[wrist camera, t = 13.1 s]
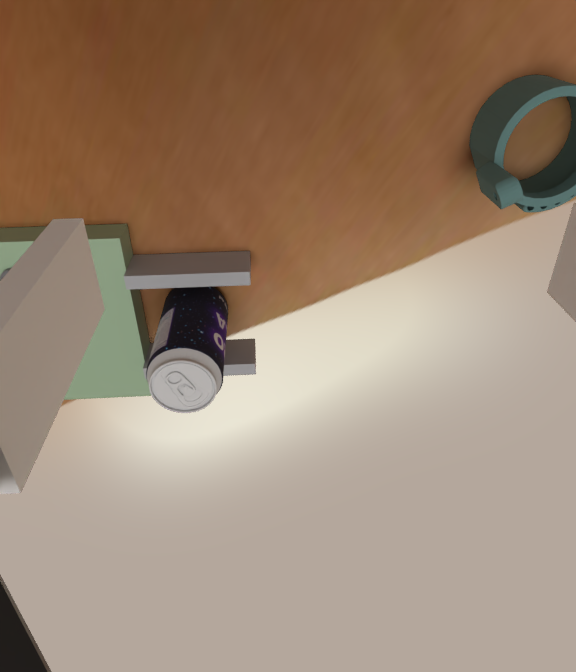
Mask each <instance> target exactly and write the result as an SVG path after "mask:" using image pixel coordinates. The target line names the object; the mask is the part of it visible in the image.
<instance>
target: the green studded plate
mask: <svg viewBox="0 0 576 672" xmlns="http://www.w3.org/2000/svg"><path fill="white" fill-rule="evenodd" d="M46 227H47V226H43V227H12V228H0V281H1V280H2V279H3V277H4V276H5V275H6V274H7V273H8V272H9V270H10V269H11V268H12V267H13V266H14V265H15V263H16V262H17V261H18V260H19V259H20V258H21V256H22V255H23V254H24V253H25V252H26V250H27V249H28V248H29V247H30V246H31V245H32V243H33V242H34V241H35V240H36V239H37V238H38V236H39V235H40V234H41V233H42V232H43V231H44V229H45V228H46ZM85 229H86V233H87V237H88V241H89V245H90V249H91V254H92V258H93V262H94V266H95V270H96V274H97V279H98V283H99V287H100V291H101V295H102V299H103V304H104V308H105V310H104V312H103V314H102V316H101V319H100V321H99V323H98V325H97V327H96V330H95V332H94V334H93V336H92V338H91V340H90V343H89V345H88V347H87V349H86V351H85V354H84V356H83V358H82V360H81V362H80V365H79V367H78V369H77V371H76V373H75V376H74V378H73V380H72V382H71V384H70V387H69V389H68V391H67V393H66V395H65V397H64V400H66V399H87V398H110V397H132V396H152V395H151V393H150V390H149V384H148V382H147V378H146V370H147V366H148V362H149V358H150V355H151V351H152V348H153V344H154V343H150V340H149V335H148V330H147V324H146V319H145V314H144V309H143V304H142V298H141V293H140V289H157V288H184V287H211V286H238V285H250V284H251V261H250V251H231V252H202V253H172V254H143V255H133V251H132V246H131V241H130V236H129V231H128V225H127V224H106V225H85ZM255 363H256V358H255V339H238V340H226V346H225V360H224V374H223V376H227V375H249V374H256V370H255V369H256V364H255Z"/></svg>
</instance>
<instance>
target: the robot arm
mask: <svg viewBox="0 0 576 672" xmlns="http://www.w3.org/2000/svg"><path fill="white" fill-rule="evenodd" d="M547 293H548V294H549V295H550V296H551V297H552V298H553V299H554V300H555V301H556V302H557V303H558V304H559V305H560V306H561V307H562V308H563V309H564V310H565V311H566V312H567V313H568V314H569V316H570V317H571V318H572V319H573V320H574V321H575V322H576V203H574V204H573V207H572V211H571V214H570V217H569V221H568V224H567V228H566V231H565V234H564V237H563V241H562V244H561V247H560V251H559V254H558V257H557V260H556V264H555V267H554V271H553V274H552V277H551V280H550V284H549V287H548V291H547ZM104 310H105V308H104V304H103V299H102V295H101V291H100V287H99V283H98V279H97V274H96V270H95V266H94V262H93V258H92V254H91V249H90V245H89V241H88V237H87V233H86V229H85V224H84V220H83V218H76V219H53V220H52V221H51V222H50V224H49V225H48V226H47V227H46V228H45V229H44V231H43V232H42V233H41V234H40V235H39V236H38V238H37V239H36V240H35V241H34V242H33V243H32V245H31V246H30V247H29V248H28V249H27V250H26V252H25V253H24V254H23V255H22V256H21V258H20V259H19V260H18V261H17V262H16V263H15V265H14V266H13V267H12V268H11V269H10V270H9V272H8V273H7V274H6V275H5V276H4V277H3V279H2V280H1V281H0V494H13V493H21V492H22V490H23V487H24V485H25V483H26V481H27V479H28V476H29V474H30V472H31V470H32V468H33V465H34V463H35V461H36V459H37V457H38V454H39V452H40V450H41V448H42V446H43V443H44V441H45V439H46V437H47V435H48V432H49V430H50V428H51V426H52V424H53V422H54V419H55V417H56V415H57V413H58V410H59V408H60V406H61V404H62V402H63V400H64V397H65V395H66V393H67V391H68V389H69V387H70V384H71V382H72V380H73V378H74V376H75V373H76V371H77V369H78V367H79V365H80V362H81V360H82V358H83V356H84V354H85V351H86V349H87V347H88V345H89V343H90V340H91V338H92V336H93V334H94V332H95V330H96V327H97V325H98V323H99V321H100V319H101V316H102V314H103V312H104ZM0 672H51V670H50V668H49V666H48V664H47V663H46V661H45V659H44V657H43V655H42V653H41V651H40V649H39V647H38V645H37V643H36V642H35V640H34V638H33V636H32V634H31V632H30V630H29V628H28V626H27V624H26V623H25V621H24V619H23V617H22V615H21V613H20V612H19V609H18V608H17V606H16V604H15V602H14V600H13V598H12V596H11V594H10V592H9V590H8V588H7V586H6V585H5V583H4V581H3V579H2V577H1V575H0Z"/></svg>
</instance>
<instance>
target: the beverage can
mask: <svg viewBox="0 0 576 672" xmlns="http://www.w3.org/2000/svg"><path fill="white" fill-rule="evenodd" d="M227 319H228V306H227V302H226V300H225V298H224V297H223V295H222V294H221V293H220V292H219V291H218V290H217V289H215V288H214V287H212V286H211V287H184V288H174V289H173V290H172V291H171V292H170V293H169V294H168V296H167V298H166V301H165V304H164V308H163V311H162V315H161V319H160V322H159V326H158V329H157V333H156V337H155V340H154V344H153V348H152V351H151V355H150V358H149V362H148V366H147V370H146V378H147V382H148V384H149V390H150V393H151V395H152V397H153V399H154V400H155V401H156V402H157V403H158V404H159V405H161V406H162V407H164V408H166V409H168V410H170V411H174V412H178V413H191V412H196V411H199V410H202V409H204V408H205V407H207V406H208V405H209V404H210V403H211V402H212V401H213V400H214V398H215V395H216V394H217V393H218V392H219V390H220V388H221V386H222V383H223V374H224V360H225V346H226V333H227Z"/></svg>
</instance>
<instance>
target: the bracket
mask: <svg viewBox="0 0 576 672" xmlns="http://www.w3.org/2000/svg"><path fill="white" fill-rule="evenodd" d="M562 96H566V97H567V99H568V101H569V104H570V107H571V115H572V121H571V129H570V132H569V135H568V138H567V141H566V143H565V145H564V147H563V148H562V150H561V151H560V153H559V154H558V156H557V157H556V158H555V159H554V160H553V161H552V163H551V164H549V165H548V166H547V167H546V168H545V169H544V170H542V171H540V172H539V173H537V174H536V175H534V176H531V177H529V178H527V179H523V180H520V181H518V179H517V178H515V177H514V176H513V175H511V174H510V173H508V172H507V171H506V170H504V167H503V157H504V152H505V147H506V144H507V142H508V139H509V137H510V135H511V133H512V131H513V130H514V128H515V127H516V125H517V124H518V123H519V122H520V120H521V119H522V118H523V117H524V116H525V115H526V114H527V113H528V112H529V111H531V110H532V109H533V108H535V107H536V106H538V105H539V104H541V103H543V102H545V101H548V100H550V99H553V98H557V97H562ZM469 146H470V149H471V153H472V157H473V161H474V165H475V168H476V169H477V171H476V174H477V178H478V182H479V185H480V189H481V192H482V193H483V194H484V195H486V196H487V197H488V198H489V199H490V200H491V201H492V202H493V203H495V204H496V205H497V206H498V207H499V208H500V209H503V208H505V207H507V206H510V205H512V204H516V205H517V206H518V207H519V208H520V209H522V210H523V211H524V212H541V211H545V210H550V209H552V208H555V207H558V206H560V205H562V204H564V203H566V202H567V201H569V200H571V199H572V198H573V197H575V196H576V85H575V84H572V83H569V82H565V81H562V80H559V79H555V78H552V77H549V76H545V75H528V76H524V77H520V78H517V79H515V80H513V81H511V82H508V83H506V84H505V85H504V86H502V87H501V88H499V89H498V90H497V91H496V92H495V93H493V94H492V95H491V96H490V97H489V98H488V100H487V101H486V102H485V103H484V105H483V106H482V107H481V109H480V111H479V112H478V114H477V116H476V118H475V121H474V123H473V126H472V130H471V134H470V144H469Z"/></svg>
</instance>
